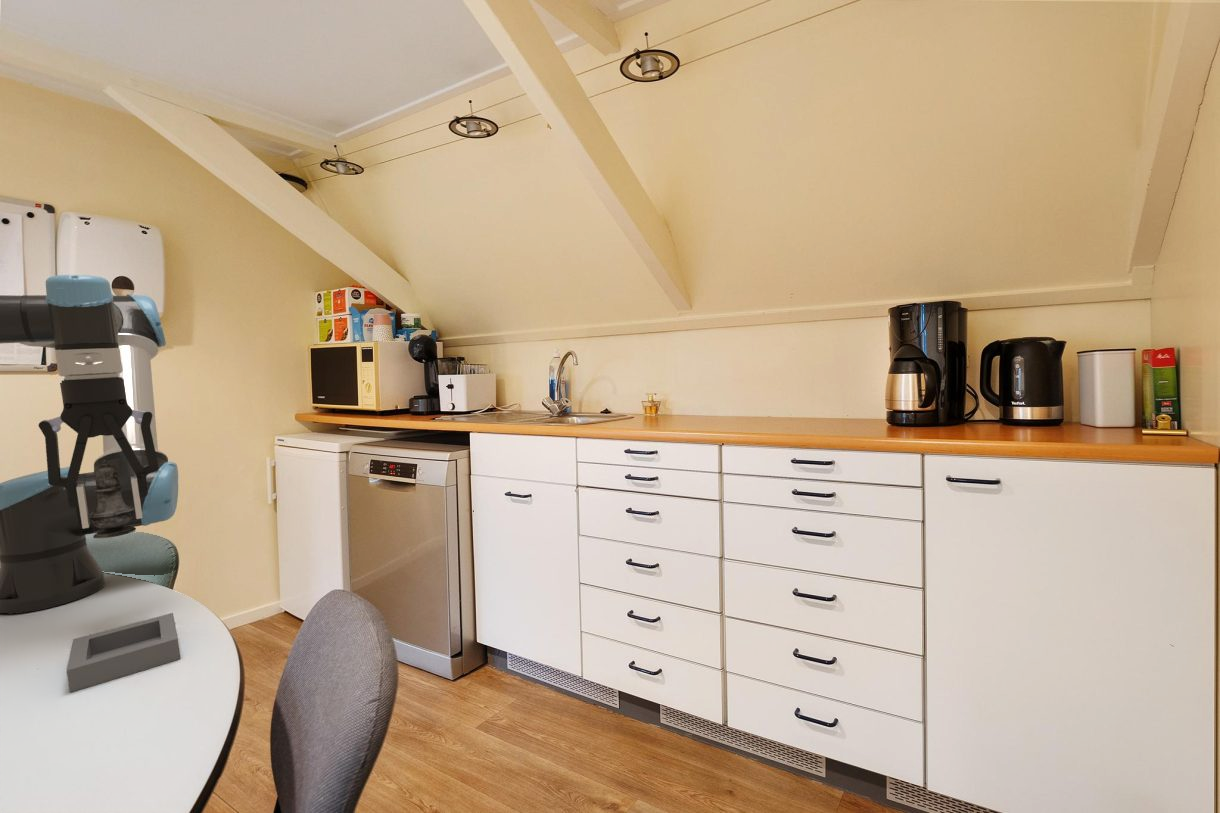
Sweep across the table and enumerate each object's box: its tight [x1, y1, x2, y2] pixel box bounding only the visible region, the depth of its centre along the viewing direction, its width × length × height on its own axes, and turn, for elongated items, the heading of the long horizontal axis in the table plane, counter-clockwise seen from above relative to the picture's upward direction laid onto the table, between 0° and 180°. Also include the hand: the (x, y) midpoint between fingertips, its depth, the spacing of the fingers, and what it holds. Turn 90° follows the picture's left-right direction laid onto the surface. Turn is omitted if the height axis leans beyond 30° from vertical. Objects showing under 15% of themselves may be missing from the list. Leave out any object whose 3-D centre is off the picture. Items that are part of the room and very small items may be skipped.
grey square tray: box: [66, 612, 181, 693], centre depth 84 cm, size 12×12×3 cm
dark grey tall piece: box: [88, 459, 137, 539], centre depth 93 cm, size 6×6×12 cm
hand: (113, 521), depth 94 cm, fingers closed on dark grey tall piece, 6 cm apart
